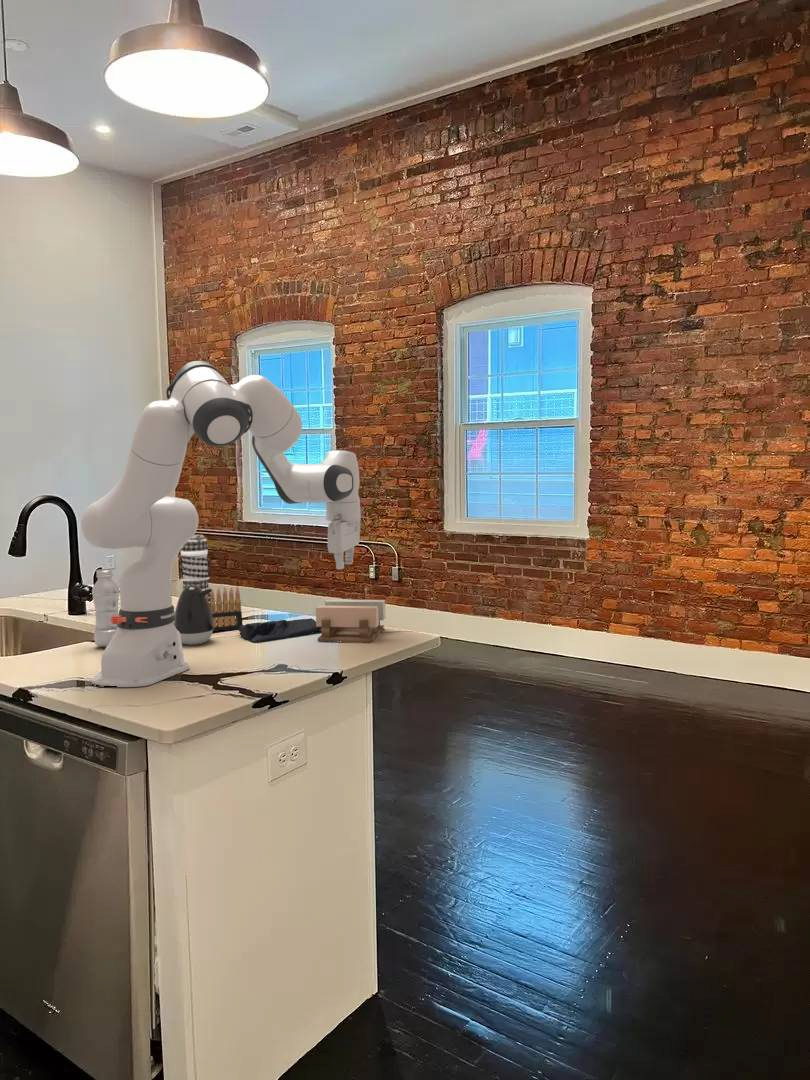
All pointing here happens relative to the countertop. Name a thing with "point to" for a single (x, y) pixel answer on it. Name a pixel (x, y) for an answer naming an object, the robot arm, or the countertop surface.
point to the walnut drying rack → (350, 632)
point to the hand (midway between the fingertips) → (344, 566)
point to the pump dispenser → (194, 616)
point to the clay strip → (347, 615)
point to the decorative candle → (195, 563)
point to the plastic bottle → (105, 606)
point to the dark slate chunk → (277, 629)
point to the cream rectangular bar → (360, 604)
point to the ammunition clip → (226, 610)
